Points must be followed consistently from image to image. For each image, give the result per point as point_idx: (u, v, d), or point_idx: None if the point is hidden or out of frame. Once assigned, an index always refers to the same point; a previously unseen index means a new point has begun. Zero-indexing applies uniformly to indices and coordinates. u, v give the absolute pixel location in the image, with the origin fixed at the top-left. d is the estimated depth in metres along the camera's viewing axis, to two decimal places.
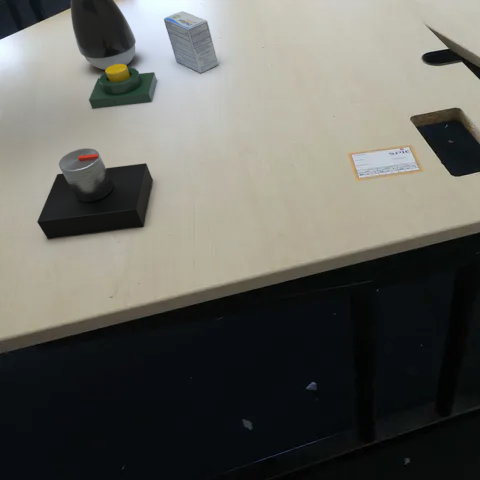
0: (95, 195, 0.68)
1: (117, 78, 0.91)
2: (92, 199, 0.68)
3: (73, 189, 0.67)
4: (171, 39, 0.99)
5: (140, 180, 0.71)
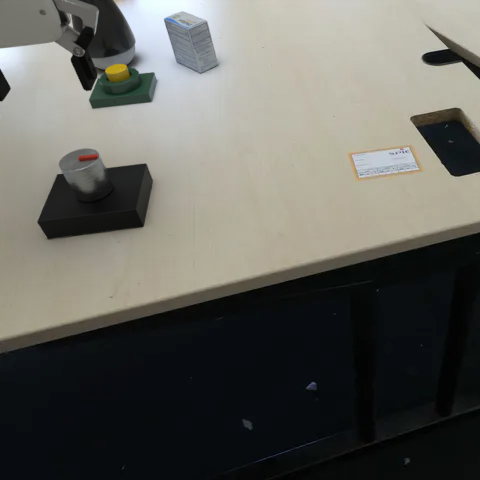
0: (95, 195, 0.68)
1: (117, 78, 0.91)
2: (92, 199, 0.68)
3: (73, 189, 0.67)
4: (171, 39, 0.99)
5: (140, 180, 0.71)
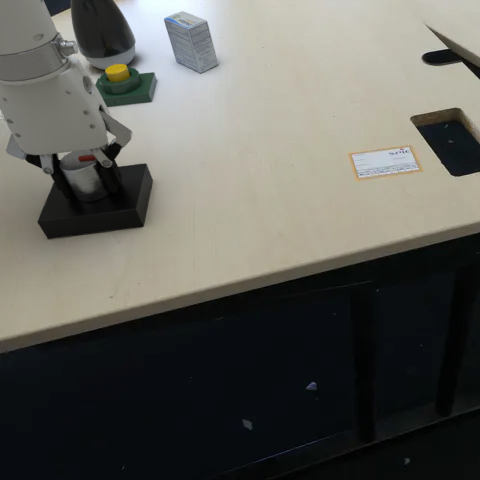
0: (95, 195, 0.68)
1: (117, 78, 0.91)
2: (92, 199, 0.68)
3: (73, 189, 0.67)
4: (171, 39, 0.99)
5: (140, 180, 0.71)
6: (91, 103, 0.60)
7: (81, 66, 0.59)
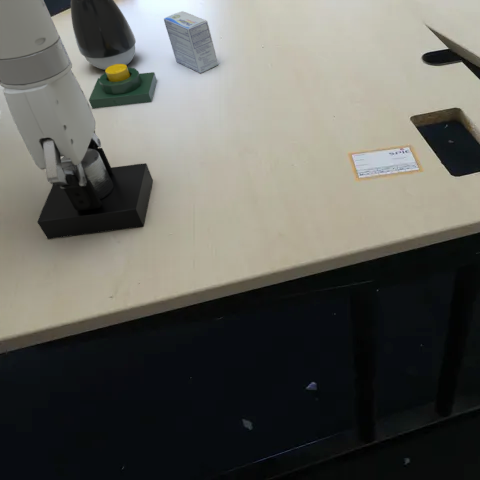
0: None
1: (117, 78, 0.91)
2: (112, 184, 0.70)
3: (100, 185, 0.67)
4: (171, 39, 0.99)
5: (140, 180, 0.71)
6: None
7: None
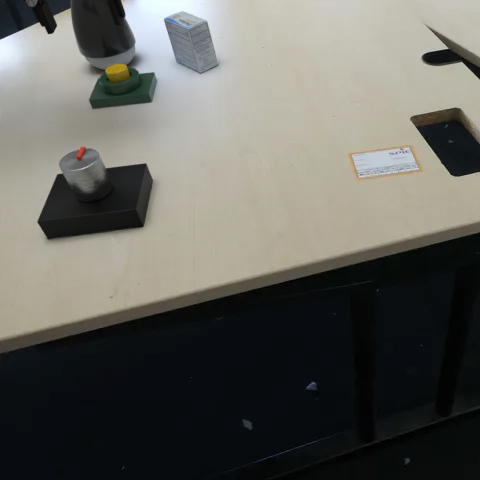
0: None
1: (117, 78, 0.91)
2: (112, 184, 0.70)
3: (100, 185, 0.67)
4: (171, 39, 0.99)
5: (140, 180, 0.71)
6: None
7: None
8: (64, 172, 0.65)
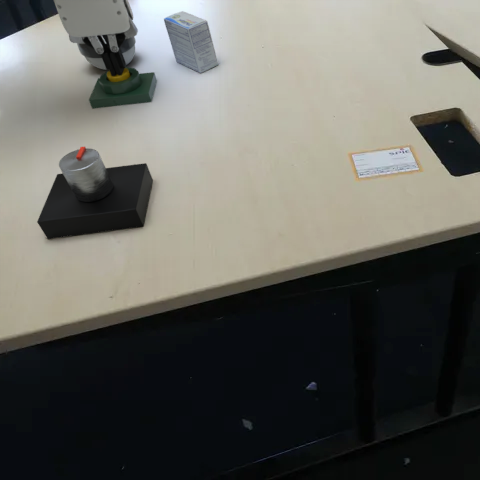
0: None
1: None
2: (112, 184, 0.70)
3: (100, 185, 0.67)
4: (171, 39, 0.99)
5: (140, 180, 0.71)
6: None
7: None
8: (64, 172, 0.65)
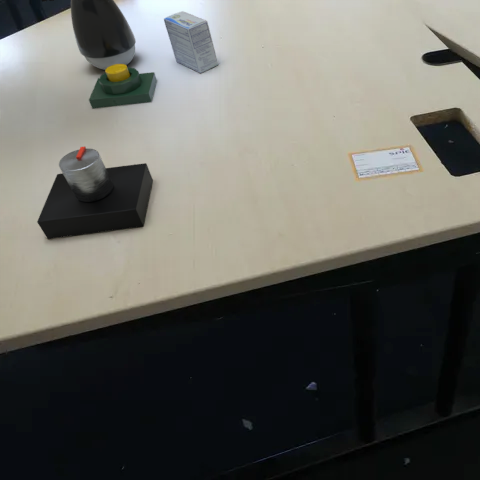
0: None
1: (117, 78, 0.91)
2: (112, 184, 0.70)
3: (100, 185, 0.67)
4: (171, 39, 0.99)
5: (140, 180, 0.71)
6: None
7: None
8: (64, 172, 0.65)
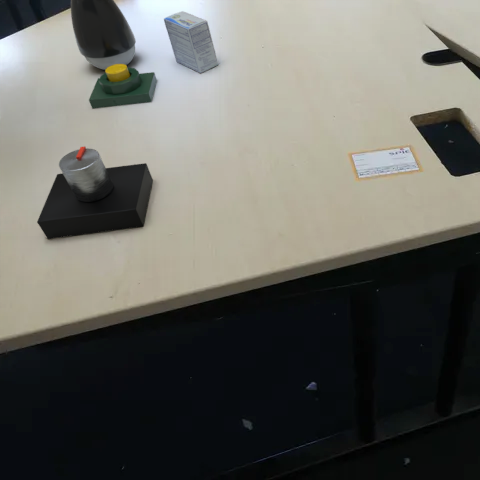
0: None
1: (117, 78, 0.91)
2: (112, 184, 0.70)
3: (100, 185, 0.67)
4: (171, 39, 0.99)
5: (140, 180, 0.71)
6: None
7: None
8: (64, 172, 0.65)
